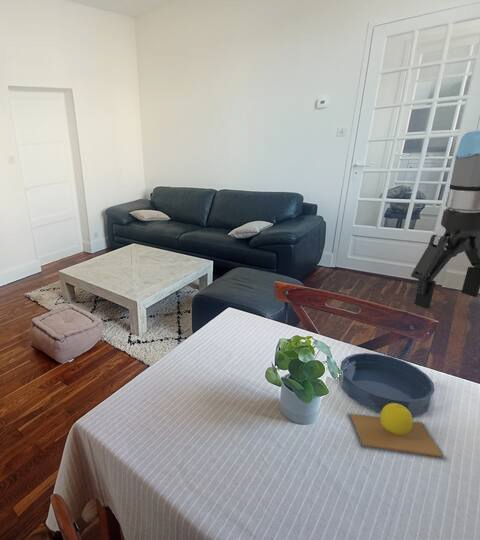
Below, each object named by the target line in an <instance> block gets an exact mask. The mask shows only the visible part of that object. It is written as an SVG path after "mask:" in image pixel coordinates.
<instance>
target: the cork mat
mask: <svg viewBox="0 0 480 540" xmlns="http://www.w3.org/2000/svg"><path fill="white" fill-rule="evenodd" d="M350 417H351V419H352V422H353V424H354V427H355V429H356V431H357V434H358V436H359V439H360V441H361V444H362V446H363V447H369V448H376V449H383V450H389V451H396V452H402V453H410V454H416V455H424V456H430V457H438V458H442V457H443V454H442V452H441V451H440V449H439V447H438V446H437V445H436V443H435V441H434V440H433V439H432V437H431V436H430V433H429V432H428V431H427V429H426V428H425V426H424V425H423V423H422V422H420V421H413V422H412V427H411V429H410V431H409V432H408V433H406V434H403V435H396V434H393V433H390V432H389V431H387V430H386V429H385V428H384V427H383V425H382V423H381V420H380V417H379V416H371V415H362V414H354V413H351V414H350Z"/></svg>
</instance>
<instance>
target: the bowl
mask: <svg viewBox="0 0 480 540" xmlns="http://www.w3.org/2000/svg"><path fill="white" fill-rule="evenodd" d="M339 368H340V369H341V370H342V371H343V374H342V375H340V374H339V376H338V383H339V386H340V388H341V390H342V391H343V392H344V393H345V394H346V395H347V396H348V397H349V398H350V399H351V400H353V401H355V402H356V403H358V404H359V405H361V406H363V407H365V408H368V409H369V410H372V411H374V412H378V413H381V411H382V409H383V408H384V406H386V405H387V404H390V403H397V404H400V405H403V406H404V407H406V408H407V409H408V410H409V412H410V413H411V416H412V417H417V416H421V415H422V414H425V413H427V412H428V411H429V409H430V408H431V406H432V403H433V400H434V396H435V392H436V389H435V383H434V382H433V381H432V379H431V378H430V377H429V376H428V374H427V373H426V372H424V371H422V370H421V369H420V368H418V367H417V366H416V365H413V364H411V363H409V362H408V361H405V360H401V359H399V358H396V357H393V356H389V355H385V354H380V353H372V352H371V353H370V352H369V353H368V352H359V353H354V354H351V355H348V356H346V357H345V358H343V359H342V360H341V361H340V367H339ZM340 369H339V370H340Z"/></svg>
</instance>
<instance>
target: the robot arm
mask: <svg viewBox="0 0 480 540" xmlns="http://www.w3.org/2000/svg"><path fill="white" fill-rule="evenodd" d="M444 206H445V207H446V208H445V209H444V210H443V213H442V215H441V220H440V225H441V227H443V228H444V229H445V232H444V233H443V235H438V234H432V235H431V236H430V239H429V243H428V246H427V247H426V248H425V250H424V252H423V254H422V255H421V257H420V258H419V261H418V262H417V264H416V266H415V267H414V269H413V271H412V272H411V274H410V277H411V278H413V279H416V280H418V282H417V288H416V295H415V299H414V305H416V306H419V307H421V308H423V309H426V310H427V309H430V308H431V304H432V299H433V294H434V292H435V287H436V282H437V281H435V280H434V279H435V278H436V277H437V276H438V275H439V273H440V272H441V271H442V270H443V269H444V268H445V266H446V265H447V264H448V263H449V262H450V260H451V259H452V258H455V257H457V256H458V255H459V254H461V253H464V254H465V255H466V257H467V259H468V261H469V263H470V264H471V265H470V266H468V267H467V270H466V274H465V278H464V281H463V285H462V289H461V294H463V295H466V296H470V297H473V298H477V297H478V296H479V292H480V129H478V130H470V131H468V132H466V133H465V134H463V135H462V136H461V138H460V141H459V144H458V147H457V150H456V153H455V155H454V163H453V169H452V173H451V179H450V183H449V187H448V192H447V197H446V201H445V205H444Z"/></svg>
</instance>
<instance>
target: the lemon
mask: <svg viewBox="0 0 480 540" xmlns="http://www.w3.org/2000/svg"><path fill="white" fill-rule="evenodd" d="M379 416H380V420H381V423H382V425H383V427H384V428H385V429H386V430H387V431H389V432H390V433H393V434H396V435H403V434H406V433H408V432H409V431H410V429H411V427H412V422H414V420H413V416H411V413H410V412H409V410H408V409H407V408H406V407H404V406H403V405H400V404H397V403H390V404H387V405H386V406H384V408H383V409H382V411H381V412H380V415H379Z"/></svg>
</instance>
